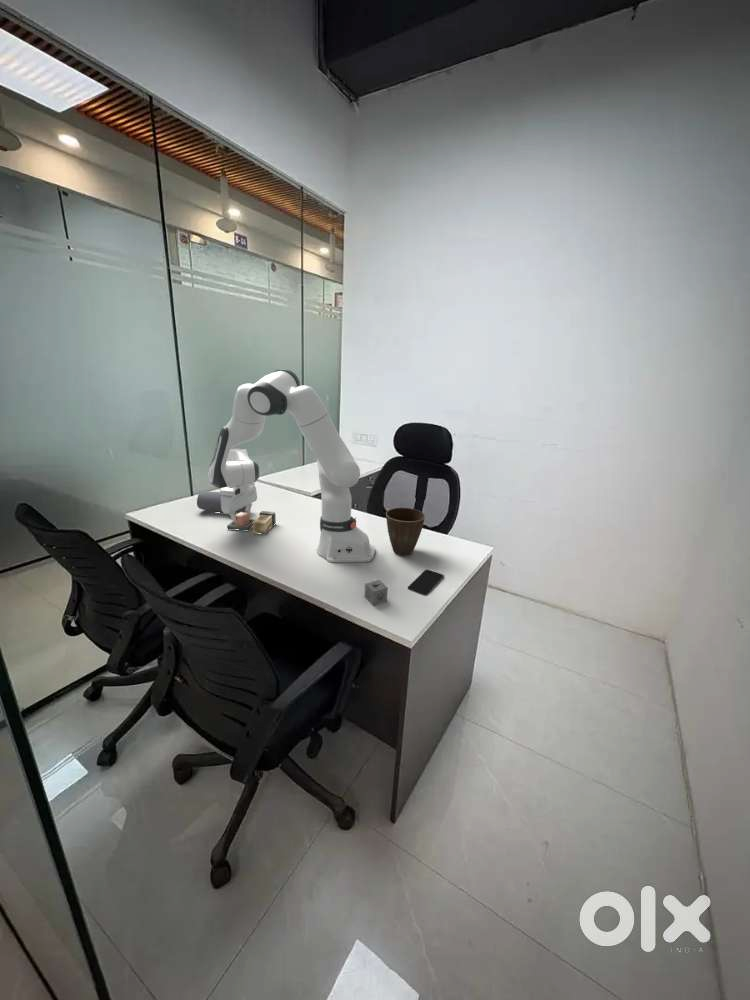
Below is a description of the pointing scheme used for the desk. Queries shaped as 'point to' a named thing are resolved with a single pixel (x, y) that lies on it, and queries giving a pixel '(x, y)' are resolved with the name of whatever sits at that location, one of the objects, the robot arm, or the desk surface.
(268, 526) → the block
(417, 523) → the plant pot
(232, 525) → the tray
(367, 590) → the dice cube
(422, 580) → the smartphone
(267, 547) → the desk surface
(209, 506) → the bluetooth speaker
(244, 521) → the orange cube
